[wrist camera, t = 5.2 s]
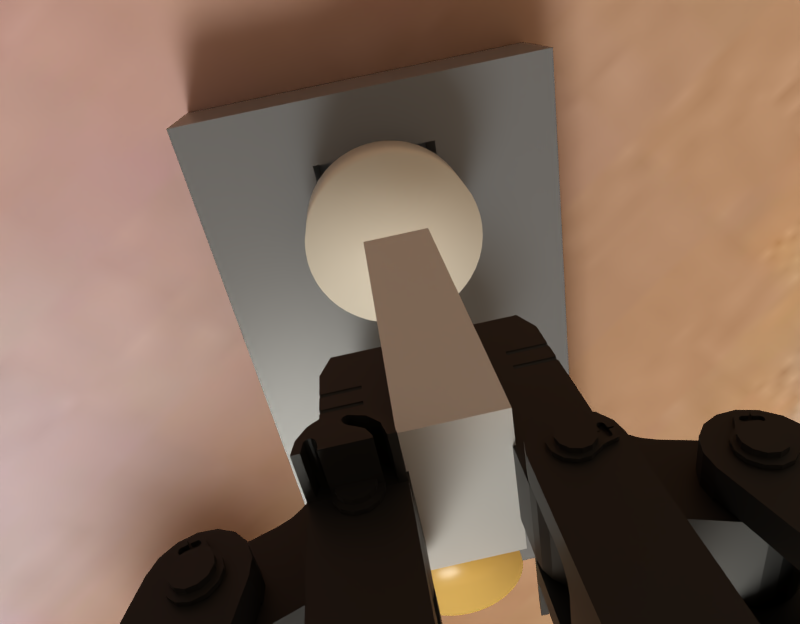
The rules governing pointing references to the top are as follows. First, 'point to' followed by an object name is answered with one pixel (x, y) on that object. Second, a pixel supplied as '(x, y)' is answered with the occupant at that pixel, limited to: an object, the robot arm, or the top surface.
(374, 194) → the button cream
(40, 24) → the top surface
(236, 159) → the panel
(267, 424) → the top surface
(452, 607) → the button amber
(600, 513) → the robot arm
